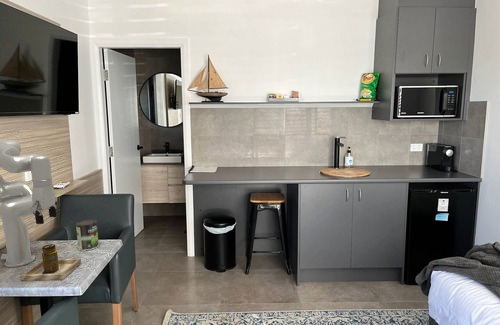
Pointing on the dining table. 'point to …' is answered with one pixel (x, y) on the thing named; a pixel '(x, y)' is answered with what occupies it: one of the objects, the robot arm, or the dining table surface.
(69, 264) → the tray
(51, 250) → the condiment
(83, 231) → the coffee can
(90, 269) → the dining table surface
